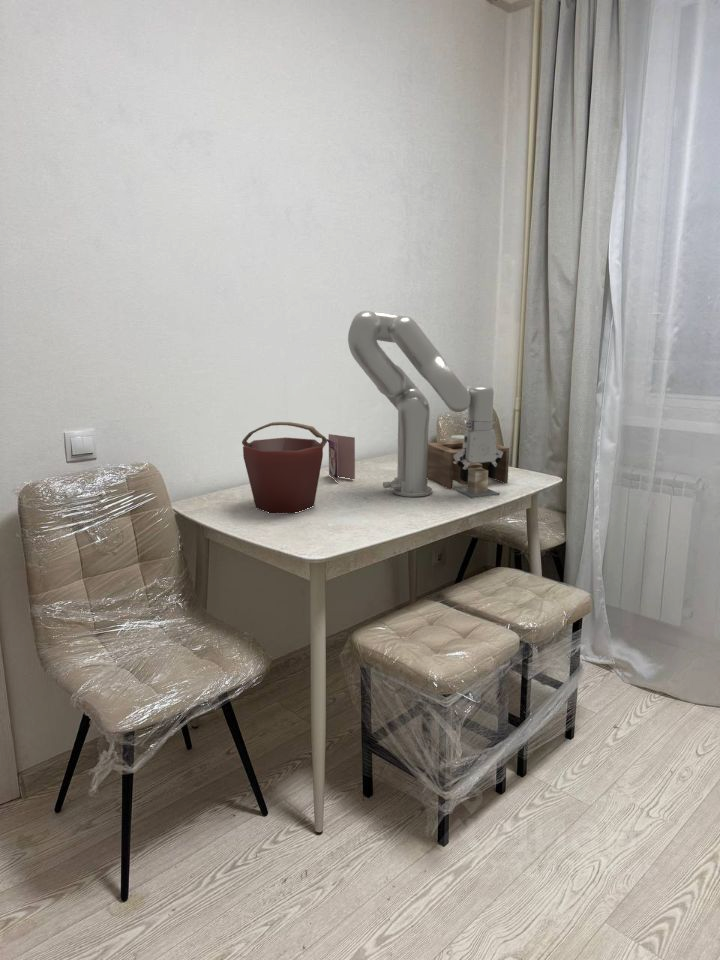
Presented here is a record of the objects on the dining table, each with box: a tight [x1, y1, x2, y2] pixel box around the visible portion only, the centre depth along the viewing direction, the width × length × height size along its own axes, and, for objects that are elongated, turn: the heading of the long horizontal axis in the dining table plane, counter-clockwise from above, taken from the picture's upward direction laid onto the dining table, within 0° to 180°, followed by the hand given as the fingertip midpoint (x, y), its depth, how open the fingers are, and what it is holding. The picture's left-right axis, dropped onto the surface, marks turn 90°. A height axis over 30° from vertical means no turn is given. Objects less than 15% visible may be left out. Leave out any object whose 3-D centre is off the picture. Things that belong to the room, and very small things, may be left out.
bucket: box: [241, 421, 329, 514], centre depth 193 cm, size 24×22×25 cm
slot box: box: [427, 440, 510, 490], centre depth 226 cm, size 22×18×12 cm
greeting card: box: [326, 433, 356, 483], centre depth 228 cm, size 11×7×15 cm, turn 18°
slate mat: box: [455, 487, 500, 499], centre depth 212 cm, size 10×10×1 cm
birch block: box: [467, 468, 489, 493], centre depth 211 cm, size 4×4×7 cm
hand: (477, 479), depth 211 cm, fingers open, 9 cm apart
